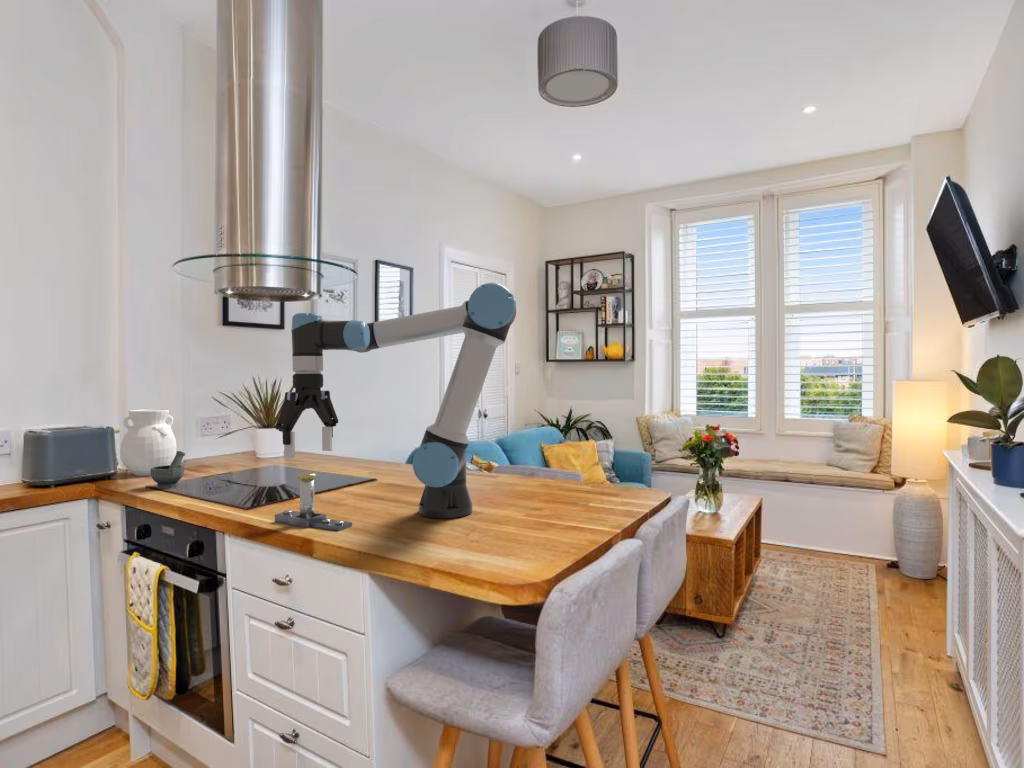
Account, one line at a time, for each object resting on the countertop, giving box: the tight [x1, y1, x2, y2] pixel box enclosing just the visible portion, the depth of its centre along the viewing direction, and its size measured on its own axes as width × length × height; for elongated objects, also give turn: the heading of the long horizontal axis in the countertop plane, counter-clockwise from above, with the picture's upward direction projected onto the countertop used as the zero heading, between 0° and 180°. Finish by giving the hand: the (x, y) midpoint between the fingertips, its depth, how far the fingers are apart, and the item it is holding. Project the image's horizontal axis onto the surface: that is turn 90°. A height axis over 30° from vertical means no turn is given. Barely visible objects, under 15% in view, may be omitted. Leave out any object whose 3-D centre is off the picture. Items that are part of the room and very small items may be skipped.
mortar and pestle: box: [150, 450, 186, 490], centre depth 195 cm, size 11×9×12 cm
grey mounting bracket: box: [274, 509, 353, 532], centre depth 147 cm, size 21×6×3 cm, turn 67°
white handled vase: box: [119, 408, 177, 477], centre depth 219 cm, size 19×18×25 cm
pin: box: [297, 471, 317, 519], centre depth 148 cm, size 4×4×13 cm
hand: (309, 454), depth 147 cm, fingers open, 13 cm apart
